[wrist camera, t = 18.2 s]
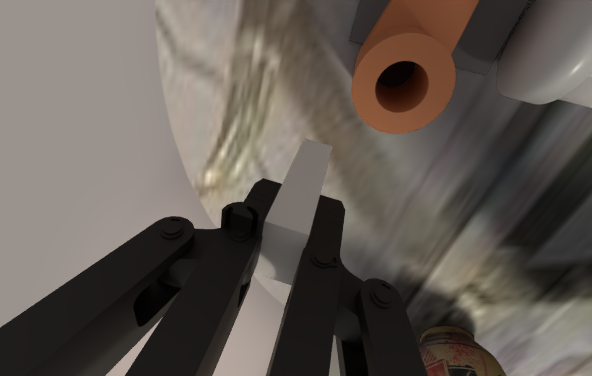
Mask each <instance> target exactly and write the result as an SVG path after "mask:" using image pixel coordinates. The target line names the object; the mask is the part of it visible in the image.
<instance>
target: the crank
mask: <svg viewBox="0 0 592 376" xmlns="http://www.w3.org/2000/svg"><path fill="white" fill-rule="evenodd" d="M478 2H479V0H390V1H389V3H388V4H387V6H386V8H385V9H384V11H383V13H382V14H381V16H380V18H379V19H378V21H377V23H376V24H375V26H374V27H373V29H372V31H371V32H370V34H369V36H368V37H367V39H366V41H365V42H364V44H363V45H362V47H361V49H360V51H359V53H358V55H357V59H356V63H355V69H354V75H353V82H352V99H353V103H354V106H355V109H356V111H357V113H358V114H359V116H360V117H361V118H362V120H363V121H364V122H366V123H367V124H368V125H369V126H371V127H372V128H374V129H376V130H379V131H382V132H386V133H393V134H400V133H407V132H411V131H414V130H417V129H419V128H421V127H423V126H425V125H427V124H429V123H430V122H431V121H433V120H434V119H435V118H436V117H437V116H438V115H439V114H440V113H441V112H442V111H443V110H444V108H445V107H446V105H447V104H448V102H449V100H450V98H451V96H452V93H453V91H454V87H455V81H456V72H455V65H454V62H453V59H452V57H451V54H452V52H453V50H454V48H455V46H456V44H457V42H458V40H459V39H460V37H461V35H462V33H463V31H464V29H465V27H466V25H467V23H468V21H469V19H470V17H471V15H472V14H473V12H474V10H475V8H476V6H477V4H478ZM400 61H412V62H415V69H414V72H413V74H412V76H411V77H410V78H409V79H408V81H406V82H405V83H404V84H402V85H400V86H397V87H385V86H383V85H381V84H380V83H379V82H378V81H377V79H378V77H379V76H380V74H381V73H382V72H383V71H384V70H385V69H386V68H387V67H388V66H390V65H392V64H394V63H396V62H400Z"/></svg>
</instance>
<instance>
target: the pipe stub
mask: <svg viewBox="0 0 592 376" xmlns="http://www.w3.org/2000/svg"><path fill="white" fill-rule="evenodd" d="M496 85H497V89H498V91H499V93H500V94H501V95H503V96H505V97H509V98H513V99H517V100H521V101H525V102H528V103H532V104H545V103H549V102H552V101H555V100H557V99H559V100H563V101H567V102H571V103H575V104H579V105H583V106H586V107H590V108H592V0H535V1H534V2H533V4H532V5H531V6H530V7H529V9H528V10H527V11H526V13H525V14H524V15H523V17H522V18H521V20H520V21H519V23H518V24H517V26H516V28H515V29H514V31H513V33H512V34H511V36H510V38H509V40H508V42H507V44H506V46H505V49H504V51H503V53H502V56H501V59H500V62H499V65H498V69H497V75H496Z"/></svg>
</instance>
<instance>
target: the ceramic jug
mask: <svg viewBox="0 0 592 376" xmlns="http://www.w3.org/2000/svg"><path fill="white" fill-rule="evenodd" d="M418 348H419V351H420V354H421V357H422V360H423V363H424V366H425V368H426V371H427V374H428V376H506V374H505V372H504V371H503V369H502V367H501V365H500V364H499V363H498V361H497V360H496V359H495V357H494V356H493V355H492V354H491V353H489V352H488V351H487V350H486V349H484V348H483V347H482V346H480V345H479V344H478V343H476V342H475V340H474V335H471V334H470V333H469V332H467V331H465V330H464V329H461V328H458V327H453V326H437V327H433V328H430V329H428V330H426V331H425V332H424V333H423V334H422V335H421V338H420V343H419V344H418Z"/></svg>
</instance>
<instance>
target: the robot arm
mask: <svg viewBox="0 0 592 376" xmlns="http://www.w3.org/2000/svg"><path fill="white" fill-rule="evenodd" d="M331 151H332V146H329V145H325V144H322V143H319V142H315V141H312V140H308V139H305V138H304V140H303V142H302V144H301V146H300V148H299V150H298V152H297V154H296V157H295V159H294V161H293V163H292V165H291V167H290V169H289V171H288V173H287V175H286V177H285V180H284V182H283V184H280V183H277V182H274V181H271V180H267V179H264V178H263V179H262V180H260V181H258V182H257V183H255V184H254V186H253V188H252V189H251V191H250V192H249V194H248V196H247V198H246V199H245V200H244V202H234V203H231V204H229V205H226V206H225V207H224V208H223V209H222V219H221V228H217V229H194V226H193V224H192V223H191V222H190V221H189V220H188V219H186V218H182V217H176V216H171V217H166V218H163V219H161V220H159V221H157V222H155V223H154V224H152V225H151V226H149V227H148V228H146V229H145V230H144V231H142V232H140V233H139V234H137V235H136V236H134V237H133V238H132V239H130V240H129V241H127V242H126V243H124V244H123V245H121V246H120V247H118V248H117V249H115V250H114V251H112V252H111V253H109V254H108V255H107V256H105V257H104V258H102V259H101V260H99V261H98V262H96V263H95V264H93V265H92V266H90V267H89V268H88V269H86V270H84V271H83V272H81V273H80V274H79V275H77V276H76V277H74V278H73V279H71V280H70V281H68V282H67V283H65V284H64V285H62V286H61V287H59V288H58V289H56V290H55V291H54V292H52V293H51V294H49V295H48V296H46V297H45V298H43V299H42V300H40V301H39V302H37V303H36V304H34V305H33V306H31V307H30V308H28V309H27V310H26V311H24V312H23V313H21V314H20V315H18V316H17V317H15V318H14V319H12V320H11V321H9V322H8V323H6V324H5V325H3V326H2V327H1V328H0V376H105V375H106V374H107V373H108V372H109V371H110V370H111V369H112V368H113V367H114V366H115V365H116V364H117V363H118V362H119V361H120V360H121V359H122V358H123V357H124V356H125V355H126V354H127V353H128V352H129V351H130V350H131V349H132V347H134V346H135V345H136V344H137V343H138V341H140V340H141V339H142V338H143V336H145V334H146V333H147V332H148V331H149V330H150V329H151V328H152V327H153V326H154V325H155V324H156V323H157V322H158V321H159V320H160V319H161V318H162V317H163V318H162V319H161V321H160V322H159V324H158V326H157V327H156V328H155V330H154V332H153V333H152V335H151V336H150V338H149V339H148V341H147V342H146V344H145V345H144V347H143V348H142V350H141V352H140V353H139V355H138V356H137V358H136V359H135V361H134V363H133V364H132V365H131V367H130V369H129V370H128V372H127V373H126V375H125V376H212V375H213V373H214V370H215V368H216V365H217V363H218V361H219V358H220V356H221V354H222V351H223V349H224V346H225V344H226V342H227V339H228V337H229V335H230V332H231V330H232V327H233V325H234V322H235V320H236V318H237V315H238V313H239V311H240V308H241V306H242V304H243V301H244V299H245V296H246V294H247V291H248V289H249V287H250V282H251V277H252V275H253V273H254V270H255V273H256V274H259V275H262V276H265V277H268V278H271V279H274V280H277V281H280V282H283V283H286V284H289V285H292V287H291V290H290V293H289V296H288V299H287V302H286V306H285V309H284V314H283V317H282V321H281V324H280V328H279V332H278V335H277V339H276V342H275V346H274V349H273V353H272V357H271V360H270V363H269V367H268V371H267V374H266V376H329V368H330V360H331V351H332V343H333V335H335V336H336V344H337V352H338V360H339V368H340V376H428V374H427V371H426V368H425V366H424V363H423V360H422V357H421V354H420V351H419V348H418V345H417V342H416V339H415V336H414V333H413V330H412V327H411V324H410V322H409V319H408V316H407V313H406V310H405V307H404V304H403V301H402V299H401V297H400V295H399V293H398V291H397V290H396V289H395V288H394V287H393V286H392V285H390V284H389V283H387V282H385V281H383V280H380V279H368V280H366V281H365V282H364V281H362V280H361V279H359V278H358V277H356V276H354V275H353V274H352V273H350V272H349V271H348V270H347V269H346V268H345V267H344V265H343V263H342V262H341V258H340V247H341V240H342V232H343V224H344V216H345V208H344V206H343V204H342V201H339V200H336V199H332V198H329V197H326V196H323V195H320V193H321V189H322V185H323V181H324V178H325V174H326V170H327V166H328V162H329V159H330V155H331Z"/></svg>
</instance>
